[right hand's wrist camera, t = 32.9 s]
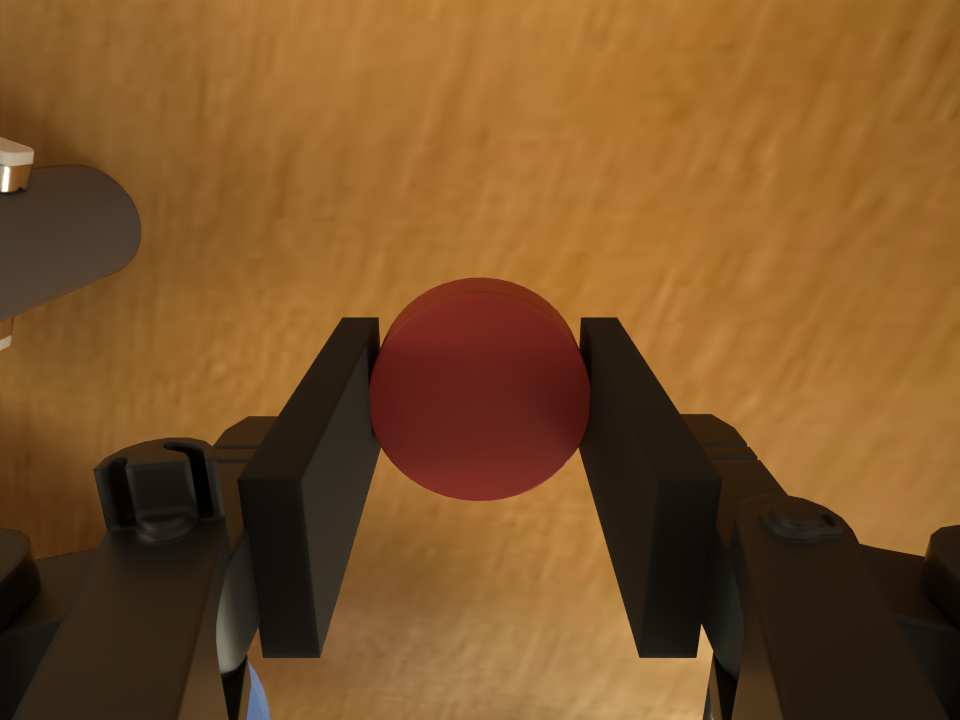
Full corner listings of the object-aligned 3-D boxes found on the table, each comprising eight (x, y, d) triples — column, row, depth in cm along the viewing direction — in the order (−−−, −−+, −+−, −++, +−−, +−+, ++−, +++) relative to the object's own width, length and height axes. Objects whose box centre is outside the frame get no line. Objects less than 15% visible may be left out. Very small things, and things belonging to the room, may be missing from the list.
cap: (380, 461, 15) (370, 498, 14) (376, 273, 14) (364, 292, 12) (572, 467, 15) (581, 504, 14) (589, 280, 14) (602, 300, 12)
